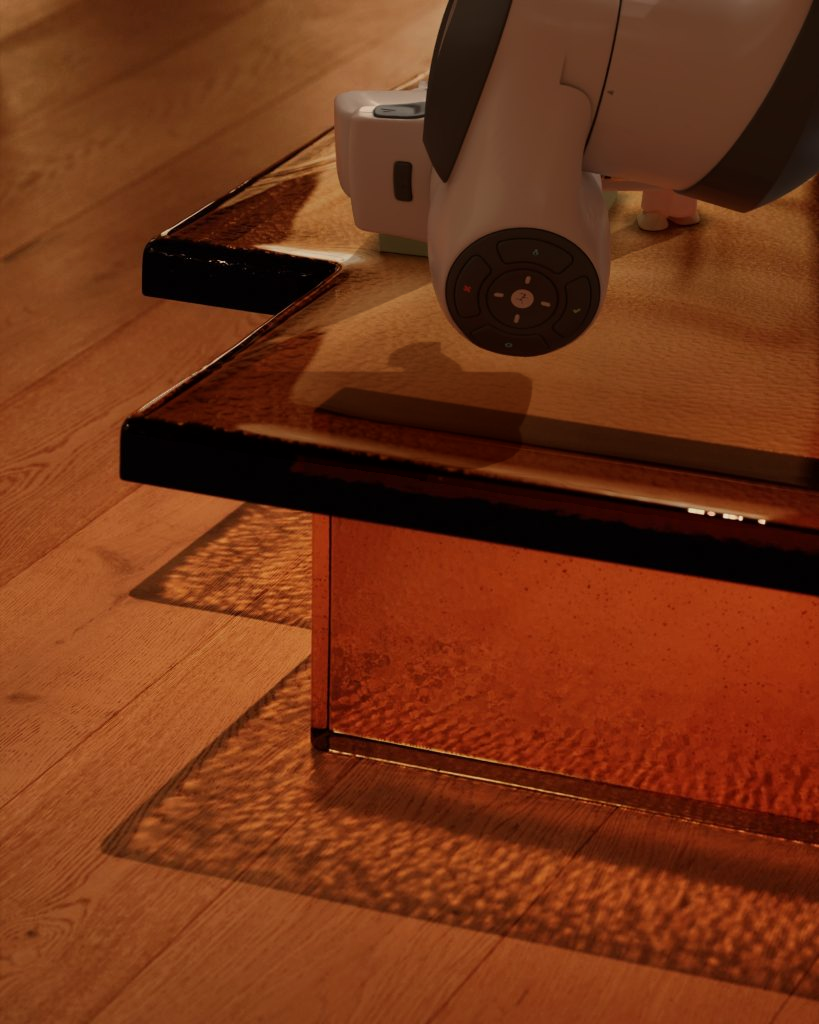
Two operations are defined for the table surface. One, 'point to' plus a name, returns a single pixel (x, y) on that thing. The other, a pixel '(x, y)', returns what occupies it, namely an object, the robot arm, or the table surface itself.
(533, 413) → the table surface
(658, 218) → the grandmother figurine
